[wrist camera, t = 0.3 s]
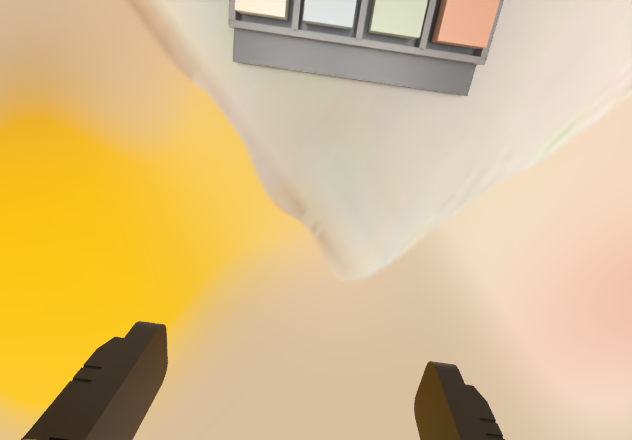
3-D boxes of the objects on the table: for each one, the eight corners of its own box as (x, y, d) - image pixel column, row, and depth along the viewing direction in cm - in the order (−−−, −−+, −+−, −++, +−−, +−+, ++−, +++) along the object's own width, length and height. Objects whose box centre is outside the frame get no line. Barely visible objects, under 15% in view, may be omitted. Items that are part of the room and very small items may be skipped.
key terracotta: (444, -13, 27) (451, -18, 25) (492, -5, 27) (503, -11, 25) (431, 42, 28) (437, 40, 27) (477, 49, 29) (486, 47, 27)
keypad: (244, -105, 28) (233, -126, 24) (505, -63, 28) (527, -80, 25) (237, 61, 32) (227, 60, 29) (461, 95, 33) (474, 97, 30)
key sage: (377, -23, 27) (380, -30, 25) (426, -16, 27) (432, -21, 25) (368, 32, 28) (370, 30, 27) (414, 39, 28) (419, 37, 27)
